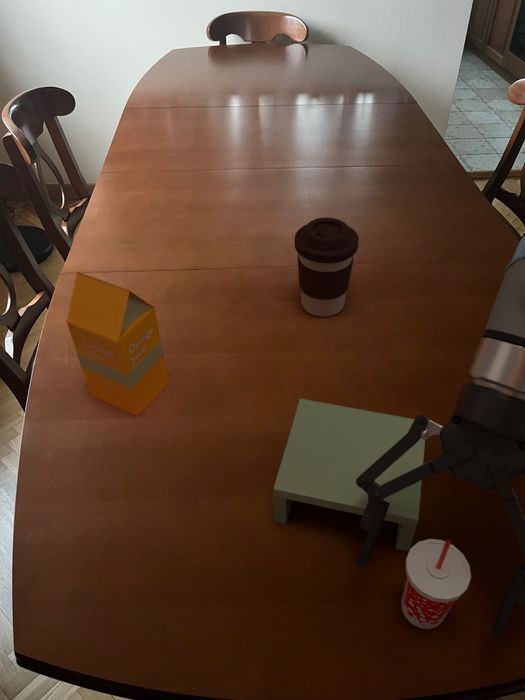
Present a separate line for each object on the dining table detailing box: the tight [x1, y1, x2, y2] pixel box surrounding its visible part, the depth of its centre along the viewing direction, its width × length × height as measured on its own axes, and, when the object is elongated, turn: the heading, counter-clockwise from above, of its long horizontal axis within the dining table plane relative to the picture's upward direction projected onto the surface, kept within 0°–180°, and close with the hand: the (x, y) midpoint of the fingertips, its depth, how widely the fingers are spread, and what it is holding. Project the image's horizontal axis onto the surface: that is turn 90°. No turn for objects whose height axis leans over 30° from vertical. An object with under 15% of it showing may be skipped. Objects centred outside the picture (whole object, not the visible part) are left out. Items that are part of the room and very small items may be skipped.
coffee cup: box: [294, 217, 360, 318], centre depth 96 cm, size 10×10×15 cm
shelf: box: [272, 398, 426, 553], centre depth 72 cm, size 14×16×7 cm
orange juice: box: [65, 271, 170, 418], centre depth 81 cm, size 8×9×20 cm
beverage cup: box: [400, 538, 472, 630], centre depth 58 cm, size 6×6×14 cm
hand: (426, 595), depth 58 cm, fingers open, 13 cm apart
